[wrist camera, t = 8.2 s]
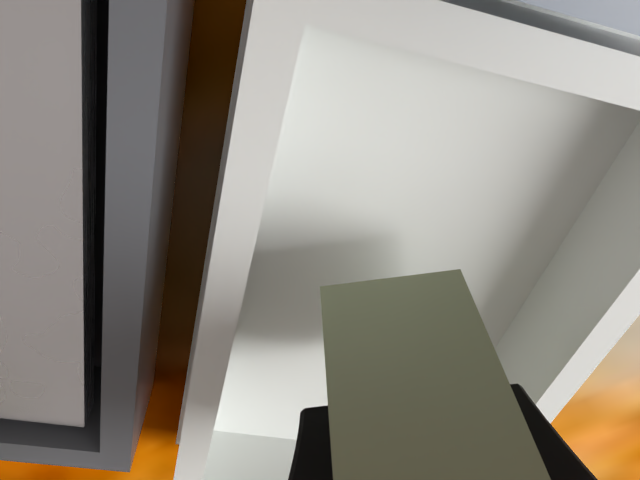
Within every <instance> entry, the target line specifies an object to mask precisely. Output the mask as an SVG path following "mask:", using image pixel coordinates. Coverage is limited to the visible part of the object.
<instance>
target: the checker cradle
mask: <svg viewBox="0 0 640 480" xmlns="http://www.w3.org/2000/svg"><path fill="white" fill-rule="evenodd" d="M194 5H195V0H97V104H96V219H95V333H94V403H93V406H92V408H91V411H90V414H89V416H88V419H87V422H86V424H85V427H76V426H67V425H57V424H48V423H39V422H29V421H20V420H11V419H2V418H0V460H5V461H16V462H26V463H37V464H48V465H58V466H69V467H79V468H90V469H101V470H111V471H122V472H130V469H131V466H132V462H133V458H134V455H135V451H136V447H137V444H138V440H139V436H140V433H141V429H142V425H143V422H144V418H145V414H146V411H147V407H148V403H149V400H150V396H151V392H152V389H153V385H154V376H155V367H156V357H157V348H158V339H159V330H160V320H161V311H162V302H163V292H164V283H165V274H166V265H167V255H168V246H169V237H170V227H171V218H172V209H173V200H174V190H175V181H176V172H177V162H178V153H179V144H180V135H181V125H182V116H183V107H184V97H185V88H186V79H187V70H188V60H189V51H190V42H191V32H192V23H193V14H194Z"/></svg>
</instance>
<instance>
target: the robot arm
mask: <svg viewBox="0 0 640 480" xmlns="http://www.w3.org/2000/svg"><path fill="white" fill-rule="evenodd" d="M510 386H511V388H512V390H513V393H514V395H515V397H516V400H517V402H518V404H519V407H520V409H521V411H522V414H523V416H524V418H525V421H526V423H527V425H528V428H529V430H530V432H531V435H532V437H533V439H534V442H535V444H536V446H537V449H538V451H539V453H540V456H541V458H542V460H543V462H544V465H545V467H546V469H547V472H548V474H549V476H550V479H551V480H597V479H596V477H595V476H594V475H593V474H592V473H591V472H590V471H589V469H588V468H587V467H586V466H585V465H584V464H583V463H582V462H581V460H580V459H579V458H578V457H577V456H576V454H575V453H574V452H573V451H572V450H571V449H570V447H569V446H568V445H567V444H566V443H565V441H564V440H563V439H562V438H561V436H560V435H559V434H558V433H557V431H556V430H555V429H554V428H553V427H552V425H551V424H550V423H549V421H548V420H547V419H546V418H545V416H544V415H543V414H542V413H541V411H540V410H539V409H538V407H537V406H536V405H535V403H534V402H533V401H532V399H531V398H530V397H529V395H528V394H527V393H526V391H525V390H524V388H523V387H522V386H521V385H519V384H518V383H517V384H510ZM288 480H333V471H332V457H331V442H330V428H329V413H328V405H327V406H318V407H310V408H304V409H303V410H302V411H301V412H300V420H299V429H298V435H297V441H296V446H295V451H294V456H293V460H292V465H291V469H290V473H289V478H288Z"/></svg>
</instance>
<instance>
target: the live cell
mask: <svg viewBox="0 0 640 480" xmlns="http://www.w3.org/2000/svg"><path fill="white" fill-rule="evenodd" d="M320 297H321V311H322V326H323V340H324V355H325V369H326V384H327V398H328V413H329V428H330V442H331V457H332V471H333V480H551V479H550V476H549V474H548V472H547V469H546V467H545V465H544V462H543V460H542V458H541V456H540V453H539V451H538V449H537V446H536V444H535V442H534V439H533V437H532V435H531V432H530V430H529V428H528V425H527V423H526V421H525V418H524V416H523V414H522V411H521V409H520V407H519V404H518V402H517V400H516V397H515V395H514V393H513V390H512V388H511V386H510V383H509V381H508V379H507V376H506V374H505V372H504V369H503V367H502V365H501V362H500V360H499V358H498V356H497V353H496V351H495V349H494V346H493V344H492V342H491V339H490V337H489V335H488V332H487V330H486V328H485V325H484V323H483V321H482V318H481V316H480V314H479V311H478V309H477V307H476V304H475V302H474V300H473V297H472V295H471V293H470V290H469V288H468V286H467V283H466V281H465V279H464V276H463V274H462V272H461V269H457V270H449V271H441V272H433V273H425V274H416V275H408V276H400V277H392V278H384V279H376V280H368V281H360V282H352V283H344V284H336V285H328V286H320Z"/></svg>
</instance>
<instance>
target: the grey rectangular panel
mask: <svg viewBox="0 0 640 480" xmlns="http://www.w3.org/2000/svg"><path fill="white" fill-rule="evenodd" d="M96 104H97V0H0V418H2V419H11V420H20V421H29V422H39V423H48V424H57V425H67V426H76V427H85V424H86V422H87V419H88V416H89V414H90V411H91V408H92V406H93V403H94V333H95V219H96Z"/></svg>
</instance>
